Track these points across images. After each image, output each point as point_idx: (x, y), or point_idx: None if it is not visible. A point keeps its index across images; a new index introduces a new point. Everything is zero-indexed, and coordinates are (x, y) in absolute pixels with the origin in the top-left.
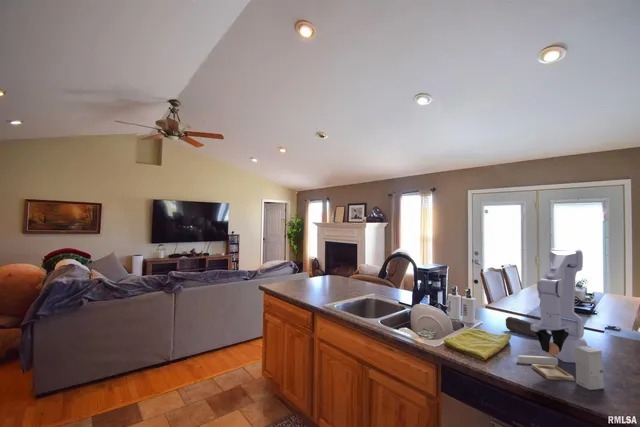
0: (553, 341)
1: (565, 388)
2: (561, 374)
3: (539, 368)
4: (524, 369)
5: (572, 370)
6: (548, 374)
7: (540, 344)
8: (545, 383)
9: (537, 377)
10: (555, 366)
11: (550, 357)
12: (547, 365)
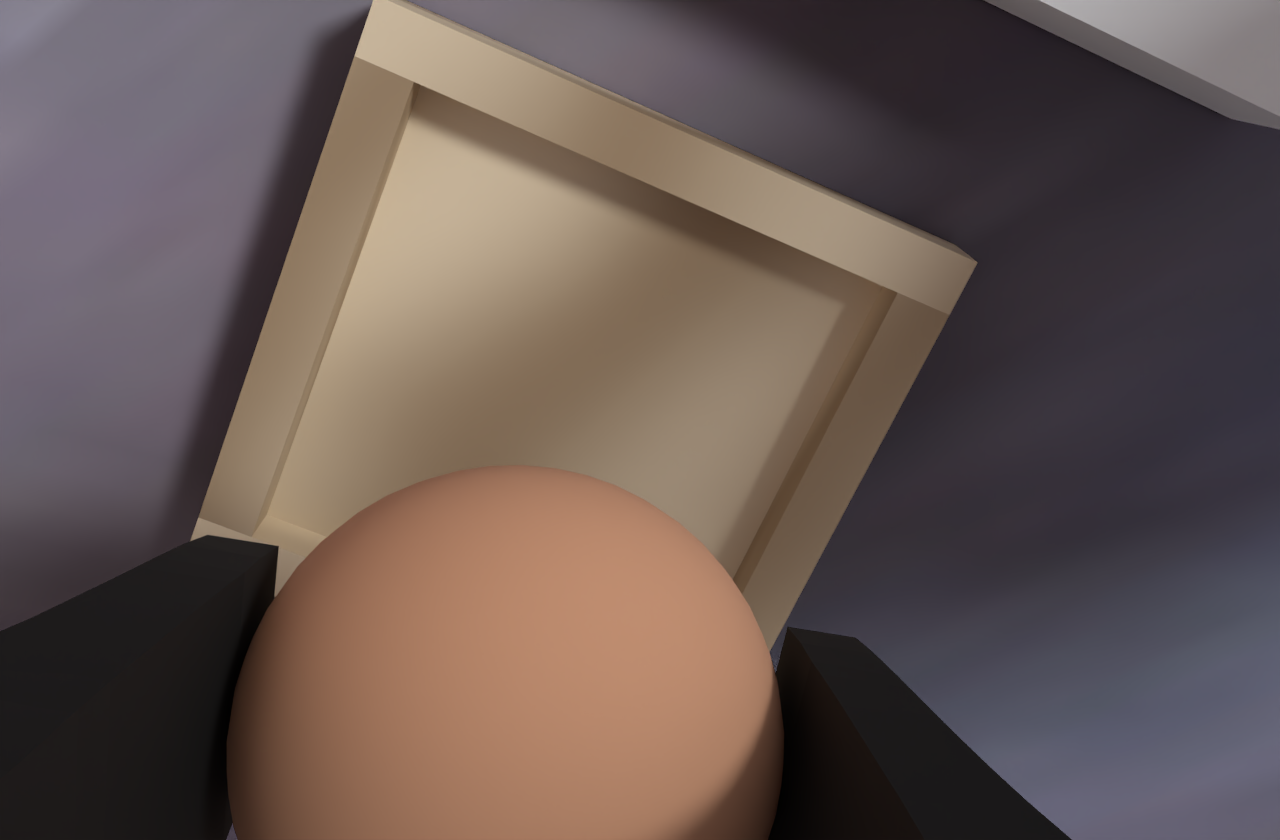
0: (877, 793)
1: (231, 826)
2: (687, 517)
3: (340, 256)
4: (86, 19)
5: (1230, 411)
6: (386, 436)
7: (68, 604)
8: (8, 618)
9: (60, 406)
10: (894, 292)
11: (1193, 15)
12: (738, 195)
